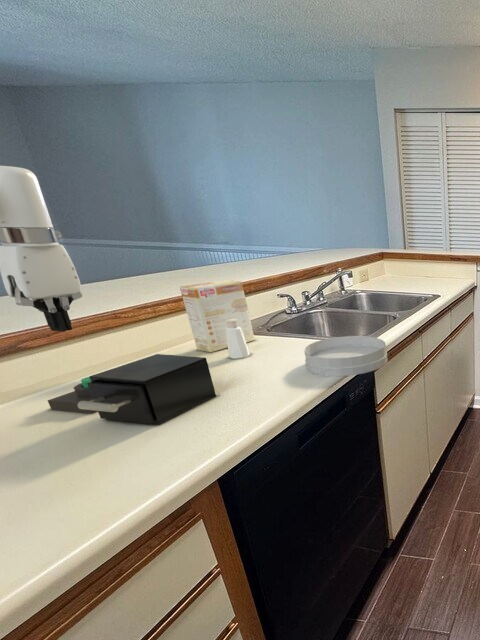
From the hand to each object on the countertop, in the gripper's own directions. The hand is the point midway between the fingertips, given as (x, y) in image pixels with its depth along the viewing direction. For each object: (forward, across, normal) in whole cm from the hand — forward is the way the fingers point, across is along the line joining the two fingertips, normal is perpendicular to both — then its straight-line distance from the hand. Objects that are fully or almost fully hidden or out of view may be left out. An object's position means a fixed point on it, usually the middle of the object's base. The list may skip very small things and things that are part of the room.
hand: (61, 330), depth 88 cm
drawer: (+16, +3, +18) cm, 24 cm away
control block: (+17, -2, +1) cm, 17 cm away
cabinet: (+16, -1, +18) cm, 25 cm away
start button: (+13, -2, +1) cm, 13 cm away
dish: (+15, -37, +42) cm, 58 cm away
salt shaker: (+16, -36, +8) cm, 40 cm away
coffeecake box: (+16, -45, -4) cm, 48 cm away
